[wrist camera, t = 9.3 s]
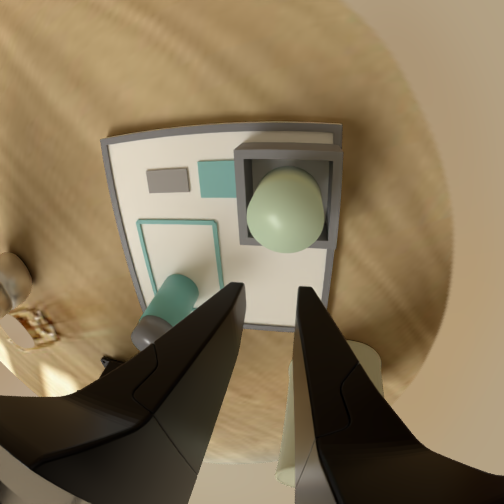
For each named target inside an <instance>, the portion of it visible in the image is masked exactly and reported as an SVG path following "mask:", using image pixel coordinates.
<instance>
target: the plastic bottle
mask: <svg viewBox="0 0 504 504" xmlns="http://www.w3.org/2000/svg"><path fill="white" fill-rule="evenodd" d="M31 288H32V278H31V275H30V273H29V271H28V269H27V267H26V266H25V264H24V263H23V261H22V260H21V259H20V258H19V257H18V256H17V255H15V254H13V253H8V252H5V253H2V254H0V319H2V318H3V317H4V316H5V315H6V314H7V313H8V312H10V311H11V310H13V309H14V308H16V307H18V306H19V305H20V304H21V303H23V302H24V301H25V300H26V298H27V297H28V295H29V294H30V292H31Z"/></svg>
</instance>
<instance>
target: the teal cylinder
mask: <svg viewBox="0 0 504 504" xmlns="http://www.w3.org/2000/svg"><path fill="white" fill-rule="evenodd" d="M198 296H199V291H198V288H197V286H196V284H195V283H194V282H193V281H192V280H191V279H190V278H188V277H186V276H184V275H180V274H173V275H170V276H168V277H167V278H166V280H165V281H164V283H163V284H162V286H161V287H160V289H159V290H158V292H157V293H156V295H155V296H154V298H153V299H152V301H151V302H150V304H149V306H148V307H147V309H146V310H145V312H144V313H143V315H142V316H141V318H140V320H139V323H138V324H137V326H136V327H135V329H134V331H133V332H132V334H131V339H132V342H133V344H134V345H135V346H136V348H137V349H138V350H139V351H142V350H143V349H145V348H146V347H147V346H149V345H150V344H151V343H154V341H155V340H157V339H158V338H159V337H160V336H162V335H163V334H164V333H166V332H167V331H168V330H170V329H171V328H172V327H173V326H175V325H176V324H177V323H179V322H180V321H181V320H182V319H184V318H185V317H186V316H188V315H189V314H190V313H191V311H192V309H193V307H194V305H195V303H196V301H197V299H198Z"/></svg>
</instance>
